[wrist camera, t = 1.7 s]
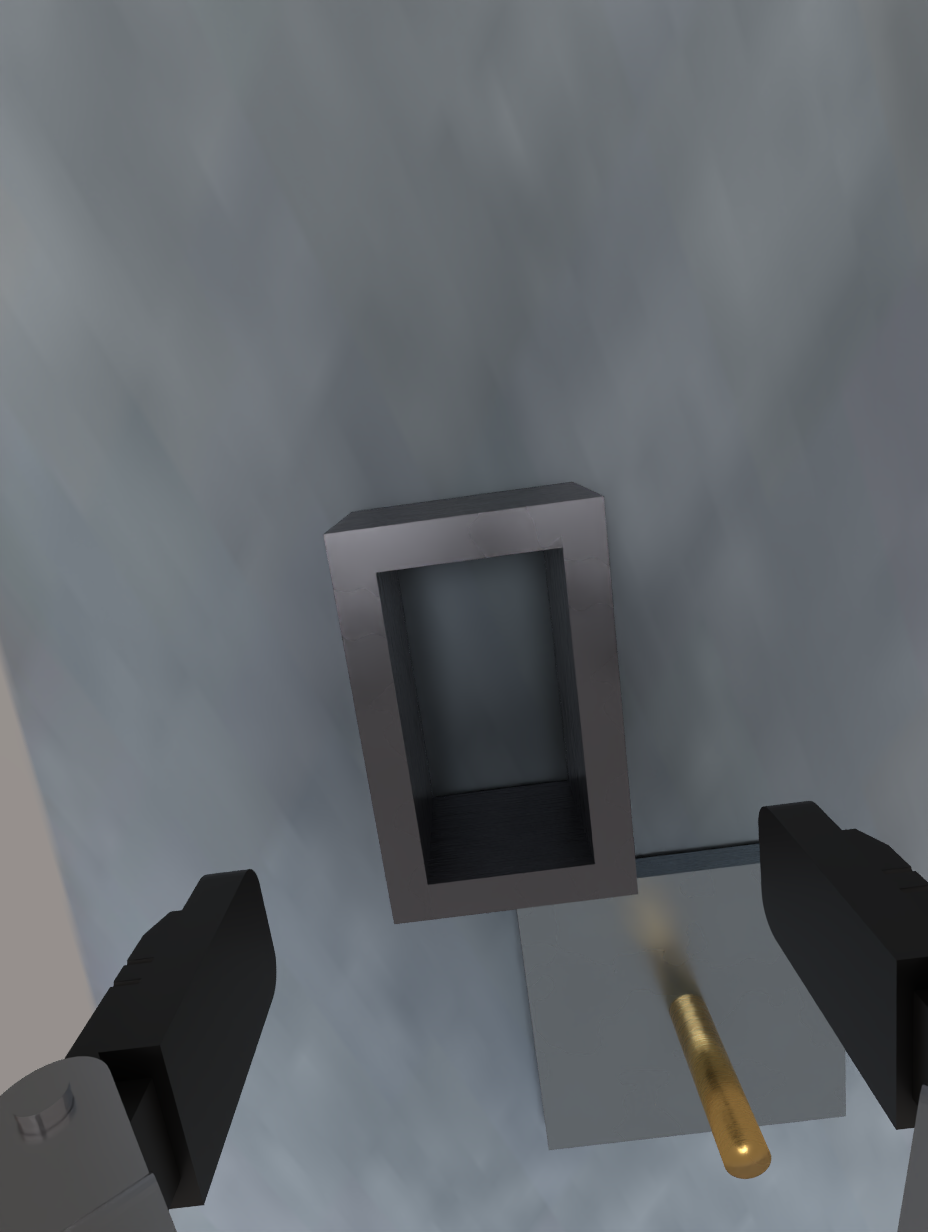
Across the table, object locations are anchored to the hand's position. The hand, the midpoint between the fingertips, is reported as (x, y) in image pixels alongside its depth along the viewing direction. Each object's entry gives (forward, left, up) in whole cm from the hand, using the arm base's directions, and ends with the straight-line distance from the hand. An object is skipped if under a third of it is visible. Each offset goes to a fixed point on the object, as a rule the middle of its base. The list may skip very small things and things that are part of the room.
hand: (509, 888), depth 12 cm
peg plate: (+12, +5, -11) cm, 16 cm away
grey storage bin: (0, 0, -11) cm, 11 cm away
